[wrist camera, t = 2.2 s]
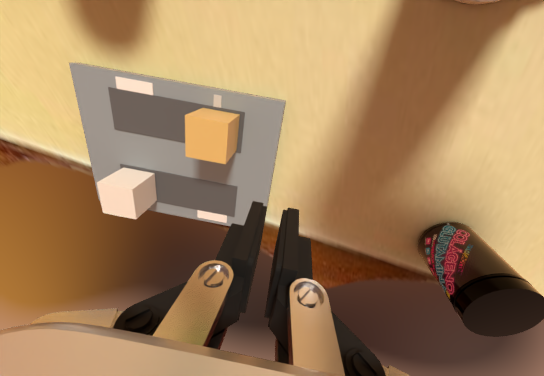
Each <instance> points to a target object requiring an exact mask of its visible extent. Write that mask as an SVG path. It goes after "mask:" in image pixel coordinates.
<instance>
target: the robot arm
mask: <svg viewBox="0 0 544 376" xmlns="http://www.w3.org/2000/svg"><path fill="white" fill-rule="evenodd" d="M456 1H459V2H462V3H465V4H486V3H492V2H497V1H500V0H456ZM263 204H264V203H261V202H256V201H253V202H252V205H251V207H250V210H249V213H248V216H247V218H246V221H245V224H244V225H239V224H234V223H232V224H231V226H230V228H229V230H228V233H227V235H226V237H225V239H224V242H223V244H222V246H221V248H220V251H219V253H218V255H217V257H216V260H214V261H208V262H205V263H203V264H201V265H200V266H199V267H198V268H197V269H196V270H195V272H194V273H193V275H192V276H191V278H190V279H189V281H188V282H185V283H183V284H181V285H179V286H176V287H174V288H171V289H169V290H167V291H164V292H162V293H160V294H158V295H155V296H153V297H151V298H148V299H146V300H144V301H141V302H139V303H137V304H134V305H133V306H131V307H129V308H127V309H126V310H125V311H118V309H117V308H114V309H98V310H84V311H68V312H55V313H51V314H47V315H44V316H42V317H40V318H38V319H36V320H35V321H33V322H32V323H30V324H28V325H23V326H16V327H11V328H7V329H3V330H0V376H410V375H408V374H406V373H403V372H402V371H400V370H398V369H396V368H394V367H392V366H390V365H389V366H388V367H385V366H383V365H381V363H380V361H379V360H378V359H377V357H376V356H375V355H374V354H373V353H372V352H371V351H370V350H369V349H368V348H367V347H366V346H365V345H364V344H363V343H362V342H361V341H360V340H359V339H358V338H357V337H356V336H355V335H354V334H353V333H352V332H351V331H350V330H349V328H348V327H346V325H345V324H344V323H342V321H341V320H340V319H339V318H338V317H336V315H335V314H334V313H333V312H332V311H331V309H330V304H329V299H328V296H327V293H326V291H325V289H324V288H323V287H322V286H321V285H320V284H319V283H318V282H316V281H314V280H313V277H312V258H311V241H310V238H305V237H300V236H298V235H299V210H297V209H292V208H288V210H283V214H282V218H281V223H280V227H279V232H278V237H277V241H276V246H275V251H274V256H273V263H272V270H271V277H270V283H269V291H268V298H267V305H266V310H265V317H266V318H269V324H268V327H270V329H271V331H272V332H273V334H274V335H275V336H276V341H275V361H270V360H265V359H260V358H256V357H251V356H246V355H242V354H237V353H232V352H228V351H223V350H220V348H221V345H222V342H223V340H224V337H225V334H226V331H227V327H228V326H230V325H232V324H233V323H235V322H237V320H239V316H240V312H242V313H245V312H246V307H247V303H248V298H249V294H250V290H251V286H252V281H253V277H254V272H255V268H256V264H257V259H258V255H259V250H260V245H261V239H262V233H263V228H264V222H265V216H266V211H267V206H263Z"/></svg>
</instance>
